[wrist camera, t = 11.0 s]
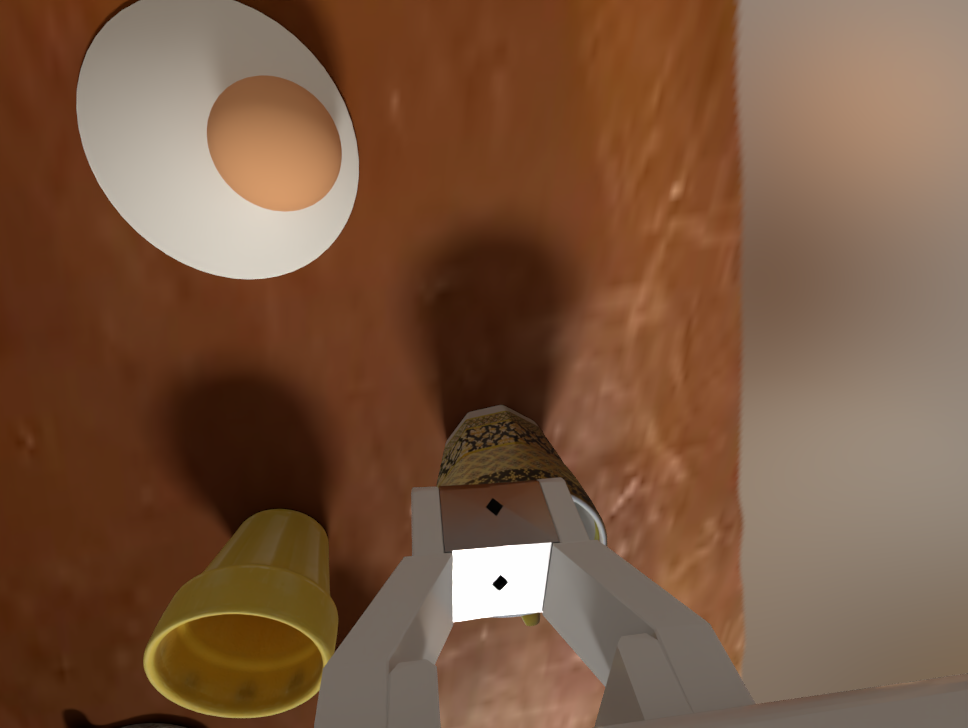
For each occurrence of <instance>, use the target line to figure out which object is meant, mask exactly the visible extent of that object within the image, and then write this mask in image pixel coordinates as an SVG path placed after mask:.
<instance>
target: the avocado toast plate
mask: <svg viewBox="0 0 968 728" xmlns="http://www.w3.org/2000/svg"><path fill="white" fill-rule="evenodd" d="M121 728H187V727H182V726H178V725H172V724H163V723H141V724H134V725H129V726H125V727H121Z"/></svg>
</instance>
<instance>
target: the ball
mask: <svg viewBox="0 0 968 728" xmlns="http://www.w3.org/2000/svg"><path fill="white" fill-rule="evenodd" d="M207 143H208V148H209V152H210V155H211V158H212V160H213V163H214V165H215V167H216V169H217V171H218V172H219V174H220V175H221V177H222V178H223V179H224V181H225V182H226V183H227V184H228V185H229V186H230V187H231V188H232V189H233V190H234V191H235V192H236V193H237V194H239V195H240V196H241V197H242V198H244V199H245V200H247V201H249V202H251V203H253V204H254V205H257V206H259V207H262V208H265V209H269V210H273V211H284V212H287V211H297V210H301V209H304V208H307V207H309V206H312V205H314V204H315V203H317V202H318V201H320V200H321V199H322V198H323V197H325V196H326V195H327V193H328V192H329V191H330V190H331V189H332V187H333V185H334V184H335V182H336V180H337V178H338V175H339V172H340V167H341V160H342V148H341V141H340V136H339V133H338V130H337V128H336V125H335V123H334V121H333V119H332V117H331V115H330V114H329V112H328V111H327V109H326V108H325V107H324V105H323V104H322V103H321V102H320V101H319V100H318V99H317V98H316V97H315V96H314V95H313V94H312V93H310V92H309V91H308V90H306V89H305V88H303V87H302V86H300V85H298V84H296V83H294V82H292V81H289V80H286V79H283V78H280V77H275V76H267V75H259V76H253V77H247V78H244V79H242V80H239V81H237V82H235V83H233V84H232V85H230V86H229V87H227V88H226V89H225V90H224V91H223V92H222V93H221V94H220V95H219V96H218V98H217V100H216V101H215V103H214V104H213V106H212V108H211V111H210V114H209V118H208V122H207Z"/></svg>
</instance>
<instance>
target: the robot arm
mask: <svg viewBox="0 0 968 728" xmlns="http://www.w3.org/2000/svg"><path fill="white" fill-rule="evenodd" d="M411 499H412V556H409V557H404V558H403V559H402V561H401V562H400V563H399V565H398V566H397V568H396V569H395V570H394V572H393V573H392V574H391V576H390V577H389V579H388V580H387V581H386V583H385V584H384V585H383V587H382V588H381V590H380V591H379V592H378V594H377V595H376V596H375V598H374V599H373V601H372V602H371V603H370V605H369V606H368V607H367V609H366V610H365V612H364V613H363V614H362V616H361V617H360V618H359V620H358V621H357V623H356V624H355V625H354V627H353V628H352V629H351V631H350V632H349V634H348V635H347V636H346V638H345V639H344V640H343V642H342V643H341V645H340V646H339V647H338V649H337V650H336V651H335V653H334V654H333V656H332V657H331V658H330V660H329V661H328V662H327V664H326V665H325V667H324V668H323V672H322V678H321V685H320V692H319V698H318V705H317V711H316V718H315V724H314V728H441V727H440V711H439V696H438V680H437V667H436V666H435V663H436V660H437V658H438V656H439V654H440V652H441V650H442V648H443V645H444V643H445V641H446V639H447V637H448V635H449V633H450V630H451V628H452V626H453V622H456V621H463V620H470V619H478V618H485V617H492V616H501V615H513V614H525V613H538V612H543V616H544V617H545V618H546V619H547V620H548V621H549V622H550V624H551V625H552V626H553V627H554V628H555V629H556V631H557V632H558V633H559V634H560V635H561V636H562V637H563V639H564V640H565V641H566V642H567V643H568V644H569V645H570V647H571V648H572V649H573V650H574V651H575V652H576V654H577V655H578V656H579V657H580V658H581V659H582V660H583V662H584V663H585V664H586V665H587V666H588V667H589V668H590V670H591V671H592V672H593V673H594V674H595V675H596V677H597V678H598V679H599V680H600V681H601V682H602V683H603V685H604V686H605V691H604V695H603V698H602V702H601V705H600V709H599V713H598V716H597V720H596V723H595V727H594V728H968V673H967V674H960V675H953V676H946V677H939V678H933V679H926V680H919V681H912V682H905V683H898V684H892V685H884V686H878V687H871V688H864V689H857V690H850V691H843V692H837V693H829V694H822V695H816V696H809V697H802V698H795V699H788V700H781V701H774V702H768V703H761V704H755V702H754V700H753V698H752V697H751V695H750V693H749V691H748V689H747V688H746V687H745V684H744V683H743V681H742V679H741V677H740V676H739V674H738V672H737V670H736V669H735V667H734V665H733V663H732V662H731V660H730V658H729V657H728V655H727V653H726V651H725V650H724V648H723V646H722V644H721V643H720V641H719V639H718V637H717V636H716V634H715V632H714V630H713V629H712V627H711V625H710V624H709V623H708V622H707V621H705V620H704V619H703V618H701V617H700V616H699V615H697V614H696V613H695V612H693V611H692V610H691V609H689V608H688V607H687V606H685V605H684V604H683V603H681V602H680V601H679V600H677V599H676V598H675V597H673V596H672V595H671V594H669V593H668V592H667V591H665V590H664V589H663V588H661V587H660V586H659V585H657V584H656V583H655V582H653V581H652V580H651V579H649V578H648V577H647V576H645V575H644V574H643V573H641V572H640V571H639V570H637V569H636V568H635V567H633V566H632V565H631V564H629V563H628V562H627V561H625V560H624V559H623V558H621V557H620V556H619V555H617V554H616V553H615V552H613V551H612V550H611V549H609V548H608V547H607V546H605V545H604V544H603V543H601V542H600V541H599V540H590V539H589V537H588V535H587V532H586V530H585V527H584V525H583V523H582V520H581V518H580V516H579V513H578V511H577V509H576V506H575V504H574V501H573V499H572V497H571V494H570V492H569V490H568V487H567V485H566V482H565V480H564V479H562V478H561V477H558V478H547V479H537V480H526V481H514V482H501V483H489V484H471V485H450V486H439V489H438V487H419V488H412V493H411Z"/></svg>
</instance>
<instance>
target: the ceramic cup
mask: <svg viewBox="0 0 968 728" xmlns="http://www.w3.org/2000/svg"><path fill="white" fill-rule="evenodd" d="M558 477H561V478H562V479H564V480H565V482H566V485H567V487H568V490H569V492H570V494H571V497H572V499H573V501H574V504H575V506H576V509H577V511H578V513H579V516H580V518H581V520H582V523H583V525H584V527H585V530H586V532H587V535H588V537H589V539H590V540H599V541H600V542H601V543H603V544H604V545H605V546H607V533H606V529H605V526H604V523H603V521H602V519H601V517H600V515H599V513H598V511H597V510H596V508H595V506H594V504H593V503H592V501H591V499H590V498H589V496H588V495H587V494H586V492H585V491H584V489H583V488H582V486H581V485H580V483H579V482H578V480H577V479H576V477H575V476H574V475H573V474H572V472H571V471H570V470H569V469H568V468H567V467H566V465H565V464H564V463H563V461H562V460H561V458H560V457H559V455H558V453H557V452H556V451H555V449H554V448H553V446H552V445H551V444H550V442H549V441H548V439H547V438H546V437H545V435H544V434H543V432H542V431H541V429H540V428H539V427H538V425H537V424H536V423H535V422H534V421H533V420H531V419H529V418H527V417H525V416H523V415H522V414H520V413H518V412H516V411H514V410H512V409H510V408H508V407H506V406H504V405H498V406H494V407H489V408H485V409H480V410H476V411H471V412H468V413H467V414H466V416H465V417H464V418H463V420H462V421H461V422H460V424H459V425H458V426H457V428H456V429H455V430H454V432H453V433H452V434H451V436H450V437H449V438H448V440H447V441H446V445H445V449H444V453H443V458H442V463H441V467H440V471H439V476H438V480H437V486H436V487H438V489H439V486H450V485H471V484H489V483H501V482H514V481H526V480H537V479H547V478H558ZM517 616H521V617H522V619H523V621H524V622H525V624H526V625H527V626H534V625H536V624H538V623H539V621H540V612H538V613H525V614H513V615H501V616H492V617H517Z"/></svg>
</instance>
